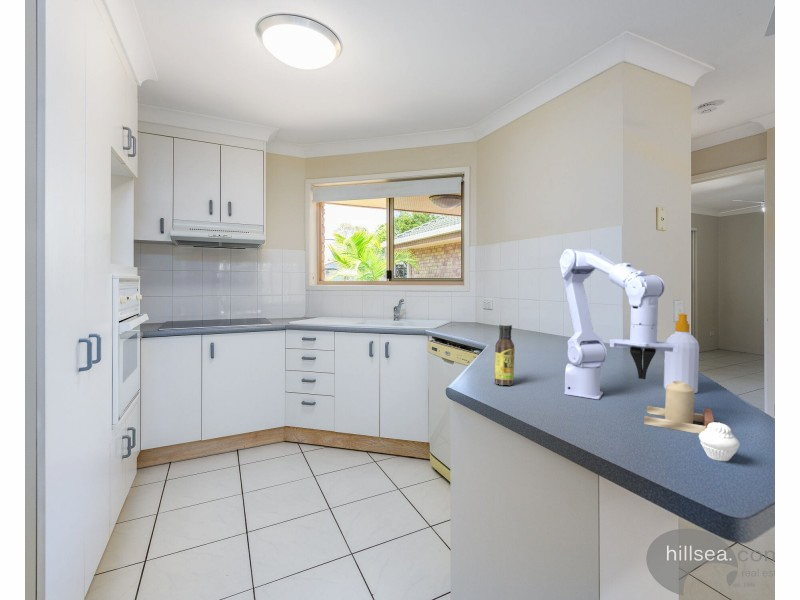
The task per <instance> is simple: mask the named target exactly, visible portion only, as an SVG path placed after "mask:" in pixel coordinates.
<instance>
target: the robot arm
mask: <svg viewBox="0 0 800 600" xmlns="http://www.w3.org/2000/svg"><path fill="white" fill-rule="evenodd" d="M559 266H560V271H561V276H562V279H563V284H564V290H565V294H566V298H567V300H566V301H567V305H568V309H569V315H570V321H571V324H572V329H573V333H574V334H572V336H571V337H570V338H569V339H568V340H567V358H568V360H569V362H570V363H567V364H566V366H565V370H564V371H565V372H564V393H563V394H564V395H567V396H575V397H578V398H579V397H581V398H588V399H593V400H599V399H600V398H601V397H602V395H603V394H604V391H601V367H603V364H604V363H605V362H606V360H607V359H608V349H607V347H606V346H605V344H604V341H603V338H602V337H601V336H600V335H599V334H598V333H596V332H595V331H594V327H593V323H592V319H591V318H592V317H591V314H590V309H589V306H588V305H589V304H588V299H587V294H586V290H585V286H584V281H585V280H586V279H588V278H589V277H590V276H591V274H593V272H594V271H595V270H598V271H600V272H602V273H604V274H606V275H607V276H608V279H609V281H610V282H611V283H613V284H615V285H616V286H618V287H620V288H621V289H623V290H625V293H626V295H627V297H628V304H629V306H630V326H629V327H630V328H629V329H630V331H629V333H630V334H629V339H622V338H610V339H609V347H610V348H624V349H625V348H626V349H629V350H630V351H629V353H630V356H631V357H632V359H633V362H634V364H635V367H636V371H637V375H638V377H637V378H638V379H642V380H646V378H647V371H648V368H649V366H650V364H651V362H652V360H653V359H654V356H655V355H656V352H657V351H660V352H665V351H668V352H675V353H679V344H675V343H666V341H658V318H659V315H658V314H659V298H660V297H662V296H663V294H664V293H665V286H666V285H665V282H664V280H663V279H662V278H661V277H659V276H658V275H656V274H652V275H647V274H646V273H645V271H643V270H639V269H636V268H635V267H633V266H632V264H631V263H630V262H623V263H622V262H620V263H615V262H614V261H613V260H611V259H610V258H608V257H606V256H605V255H603V254H602V253H601V251H599V250H596V249H595V248H594V249H591V248H590V249H571V248H567V249H565V250H564V251H563V252H562V254H561V255H560V259H559Z"/></svg>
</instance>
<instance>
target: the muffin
mask: <svg viewBox="0 0 800 600" xmlns="http://www.w3.org/2000/svg"><path fill="white" fill-rule="evenodd" d="M698 439H699V441H700V445H701V446H702V448H703V450H704V452H705V454H706V455H707V457H708V458H710V459H711V460H715V461H718V462H729V461H730V460H731V459H732V457H733V456H734V455H735V454H736V452H737V451H738V449H739V447H740V441H739V440H738V439H737V437H735V435H734V433H732V429H731V428H730V426H729V425H728V424H725V423H721V422H715V421H714V422H713V423H710V424H708V426H707V428H706V429H705V431H702V432H701V433H700V434H698Z"/></svg>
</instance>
